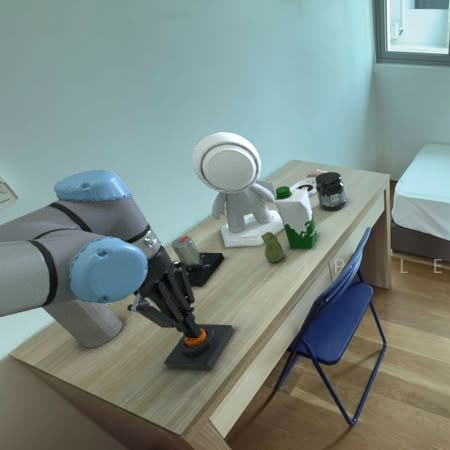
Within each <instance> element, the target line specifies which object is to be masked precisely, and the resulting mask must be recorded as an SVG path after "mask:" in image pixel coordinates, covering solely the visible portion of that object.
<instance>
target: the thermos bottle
mask: <svg viewBox="0 0 450 450" xmlns="http://www.w3.org/2000/svg"><path fill="white" fill-rule="evenodd" d="M41 308H42V309H43V310H44V311H45V312H46V313H47V314H48V315H50V317H52V319H53V320H55V321H56V322H57V323H58V324H59V325H60V326H61V327H62V328H63V329H64V330H66V331H67V332H68V334H70V335H71V336H72V337H73V338H74V339H75V340H76V341H77V342H78V343H79V344H80V345H81V346H83V347H84V348H97V347H98V346H101V345H103V344H105V343H107V342H109V341H110V340H112V339H113V338H115V336H116V335H118V334H119V333H120V331H121V330H122V328H123V322H122V320H120V318H119V317H118V316H117V315H116V314H115V312H113V310H111V308H110V307H109V306H108V305H107V303H94V302H90V303H88V302H83V301H81V300H80V299H76V300H71V301H67V302H63V303H59V304H54V305H50V306H45V307H41Z"/></svg>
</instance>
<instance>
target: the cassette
mask: <svg viewBox="0 0 450 450" xmlns="http://www.w3.org/2000/svg"><path fill="white" fill-rule="evenodd" d="M255 183H256V184H259V185H261V186H262V187H264V188H266V189H267V190H269V191H270V192H271V193H272V194H273V196H274V199H275V200H276V197H277V194H276V189H277V188H276V186H275V183H274V181H268V180H265V179H259V178H258V179H257V180H256V182H255ZM256 194H257V193H256ZM257 195H258V194H257ZM258 196H259V197H260V198H262V197H261V196H260V195H258Z"/></svg>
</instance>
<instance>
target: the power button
mask: <svg viewBox="0 0 450 450" xmlns="http://www.w3.org/2000/svg"><path fill="white" fill-rule="evenodd" d="M200 330H201V331H202V333H201V335H200V336H199V338H186V336H185V338H184V341H185V343H186V344H187V346H188V347H194V346H197V345H199V344H200V343H202V342H203V341H204V340H205V338H206V337H207V334H206V333H205V331H204V330H203V329H201V328H200Z"/></svg>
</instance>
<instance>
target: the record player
mask: <svg viewBox="0 0 450 450" xmlns="http://www.w3.org/2000/svg"><path fill="white" fill-rule="evenodd" d="M326 172H327V171H325V170H320V169H315V170H313V171H311V172H310V173H309V174H307V175H306V178H303V179H300V180H299V181H298V182H296V183H294V184H293V185H292V186H290V187H289V189H307V192H308V197H311V196H313V195H314V194H315V193H316V194H317V190H316V185H317V184H316V181H315V179H316V177H317V176H318V175H320V174H322V173H326Z"/></svg>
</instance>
